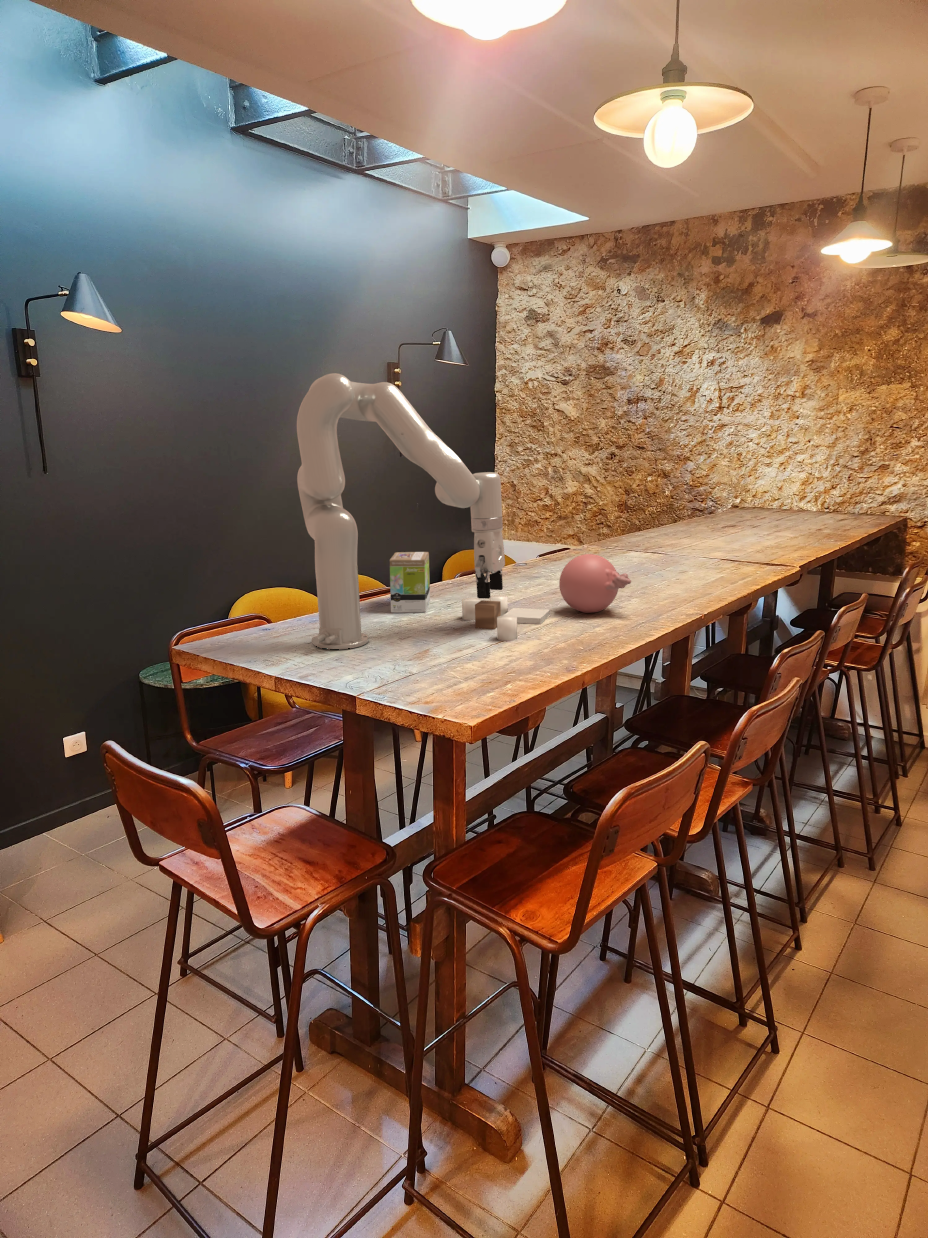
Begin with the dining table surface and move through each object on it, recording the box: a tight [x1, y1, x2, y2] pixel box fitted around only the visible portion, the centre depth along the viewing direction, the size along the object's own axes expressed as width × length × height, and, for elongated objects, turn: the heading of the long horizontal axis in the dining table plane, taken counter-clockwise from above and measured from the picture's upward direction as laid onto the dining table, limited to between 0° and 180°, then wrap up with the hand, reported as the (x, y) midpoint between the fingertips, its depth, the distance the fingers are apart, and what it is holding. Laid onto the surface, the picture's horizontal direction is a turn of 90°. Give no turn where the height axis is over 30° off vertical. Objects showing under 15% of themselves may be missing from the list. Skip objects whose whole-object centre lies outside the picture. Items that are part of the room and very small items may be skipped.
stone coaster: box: [504, 607, 551, 625], centre depth 203 cm, size 10×10×2 cm
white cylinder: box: [489, 594, 509, 616], centre depth 207 cm, size 5×5×5 cm
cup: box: [496, 615, 518, 642], centre depth 184 cm, size 5×5×5 cm
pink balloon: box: [559, 553, 632, 614], centre depth 205 cm, size 15×20×15 cm
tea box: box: [389, 551, 431, 614], centre depth 218 cm, size 15×10×15 cm, turn 179°
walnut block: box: [474, 599, 501, 630], centre depth 195 cm, size 5×5×6 cm
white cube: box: [461, 597, 481, 622], centre depth 204 cm, size 5×5×5 cm
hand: (490, 593), depth 194 cm, fingers open, 9 cm apart
